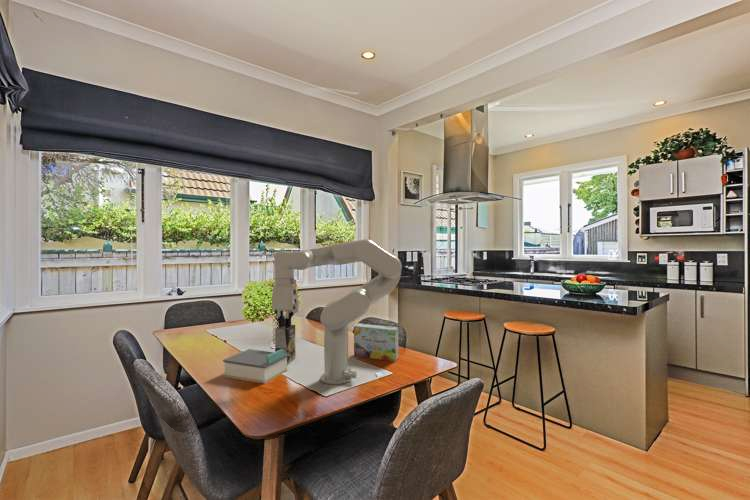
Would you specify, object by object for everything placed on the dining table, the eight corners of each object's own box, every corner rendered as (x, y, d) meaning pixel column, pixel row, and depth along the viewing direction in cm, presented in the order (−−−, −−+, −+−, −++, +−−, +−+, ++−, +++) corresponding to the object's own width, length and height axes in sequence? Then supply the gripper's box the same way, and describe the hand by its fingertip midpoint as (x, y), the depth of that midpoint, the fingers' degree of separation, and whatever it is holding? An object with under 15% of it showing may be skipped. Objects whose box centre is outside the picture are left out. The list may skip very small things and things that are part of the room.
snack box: (353, 356, 181) (353, 325, 180) (358, 353, 186) (358, 322, 186) (395, 362, 173) (395, 329, 173) (399, 358, 178) (399, 326, 178)
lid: (288, 356, 162) (288, 347, 162) (264, 368, 147) (264, 358, 147) (249, 350, 170) (248, 342, 170) (223, 361, 155) (222, 352, 155)
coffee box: (288, 364, 170) (287, 329, 169) (274, 363, 171) (274, 328, 170) (296, 358, 179) (295, 324, 178) (283, 357, 180) (283, 323, 179)
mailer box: (287, 370, 162) (286, 357, 162) (264, 383, 148) (264, 368, 148) (249, 365, 169) (249, 351, 169) (224, 376, 155) (224, 362, 155)
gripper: (306, 281, 152) (307, 326, 153) (273, 280, 158) (274, 323, 159) (296, 283, 145) (296, 331, 146) (262, 282, 151) (262, 327, 152)
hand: (285, 326), depth 153 cm, fingers closed
